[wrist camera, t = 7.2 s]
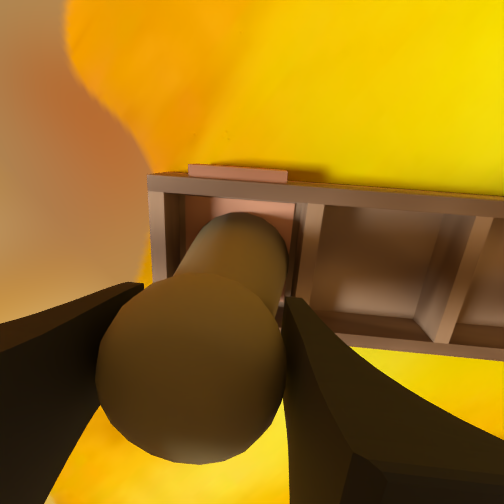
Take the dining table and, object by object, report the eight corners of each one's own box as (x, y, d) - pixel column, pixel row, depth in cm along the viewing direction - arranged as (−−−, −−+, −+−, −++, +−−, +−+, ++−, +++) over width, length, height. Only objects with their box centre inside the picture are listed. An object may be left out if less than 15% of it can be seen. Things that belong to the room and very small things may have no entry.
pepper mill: (261, 193, 15) (227, 243, 5) (305, 283, 17) (351, 474, 6) (173, 238, 17) (-6, 354, 6) (220, 319, 18) (139, 527, 7)
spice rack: (541, 336, 18) (591, 370, 15) (172, 302, 19) (155, 327, 16) (611, 193, 15) (689, 200, 12) (168, 161, 16) (146, 161, 13)
